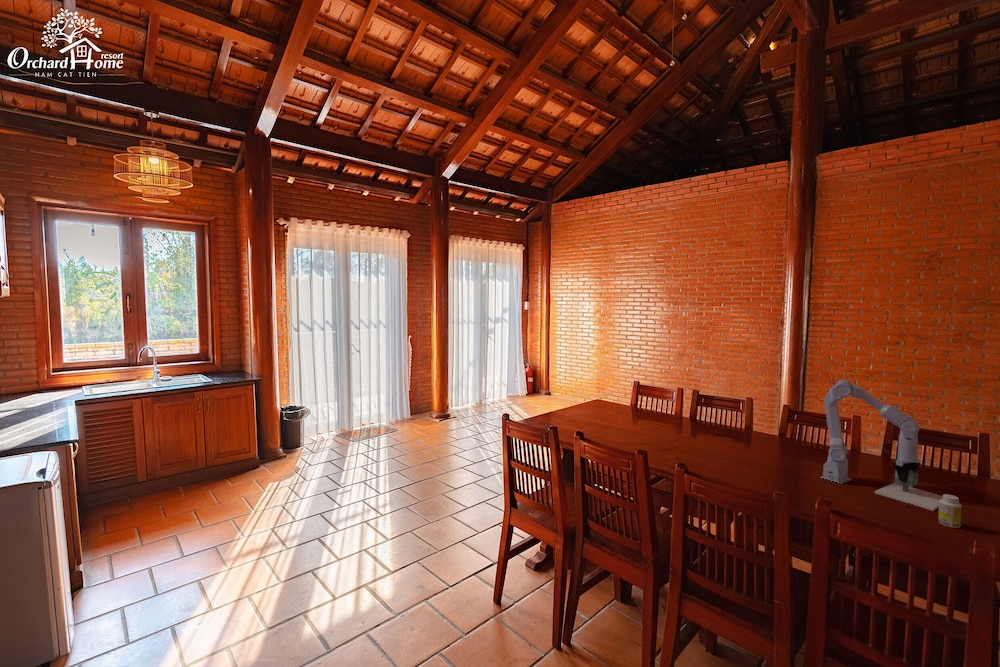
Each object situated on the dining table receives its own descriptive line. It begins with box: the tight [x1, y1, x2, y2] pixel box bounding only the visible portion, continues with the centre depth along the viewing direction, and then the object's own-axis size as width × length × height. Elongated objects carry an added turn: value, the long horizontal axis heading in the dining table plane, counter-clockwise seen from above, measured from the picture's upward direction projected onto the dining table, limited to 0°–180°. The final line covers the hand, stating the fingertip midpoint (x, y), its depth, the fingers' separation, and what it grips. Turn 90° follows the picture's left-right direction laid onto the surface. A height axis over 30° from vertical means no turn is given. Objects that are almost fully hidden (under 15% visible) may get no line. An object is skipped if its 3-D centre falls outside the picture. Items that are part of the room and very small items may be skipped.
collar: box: [894, 469, 919, 488], centre depth 181 cm, size 5×5×5 cm
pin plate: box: [874, 482, 943, 511], centre depth 178 cm, size 18×18×5 cm
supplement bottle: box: [938, 493, 963, 529], centre depth 155 cm, size 6×6×10 cm
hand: (905, 479), depth 181 cm, fingers closed on collar, 5 cm apart
